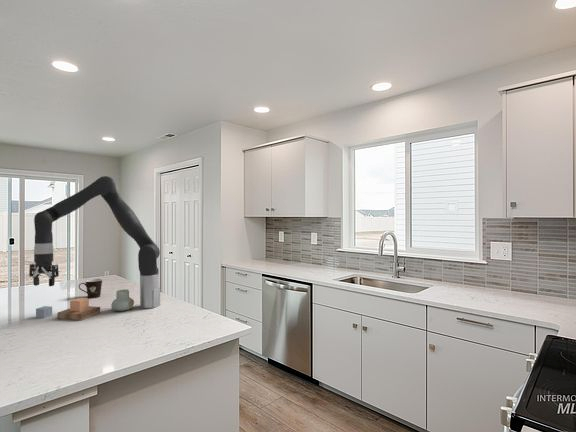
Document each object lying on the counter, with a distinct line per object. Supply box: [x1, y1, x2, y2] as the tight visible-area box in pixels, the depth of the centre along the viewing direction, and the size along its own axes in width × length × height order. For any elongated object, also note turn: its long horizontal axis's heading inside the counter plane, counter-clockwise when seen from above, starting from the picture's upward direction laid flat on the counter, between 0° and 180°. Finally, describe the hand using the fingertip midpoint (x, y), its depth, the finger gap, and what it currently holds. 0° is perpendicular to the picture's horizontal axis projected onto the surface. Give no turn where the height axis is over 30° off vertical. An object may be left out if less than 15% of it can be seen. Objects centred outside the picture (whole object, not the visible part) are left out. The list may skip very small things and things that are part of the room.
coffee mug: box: [78, 278, 103, 299], centre depth 197 cm, size 12×9×10 cm
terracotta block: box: [69, 297, 90, 312], centre depth 160 cm, size 6×6×5 cm
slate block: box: [35, 305, 53, 319], centre depth 159 cm, size 4×4×4 cm
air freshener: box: [110, 288, 135, 312], centre depth 171 cm, size 11×8×10 cm
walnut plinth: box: [56, 305, 101, 321], centre depth 160 cm, size 13×12×3 cm
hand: (43, 285), depth 159 cm, fingers open, 8 cm apart
